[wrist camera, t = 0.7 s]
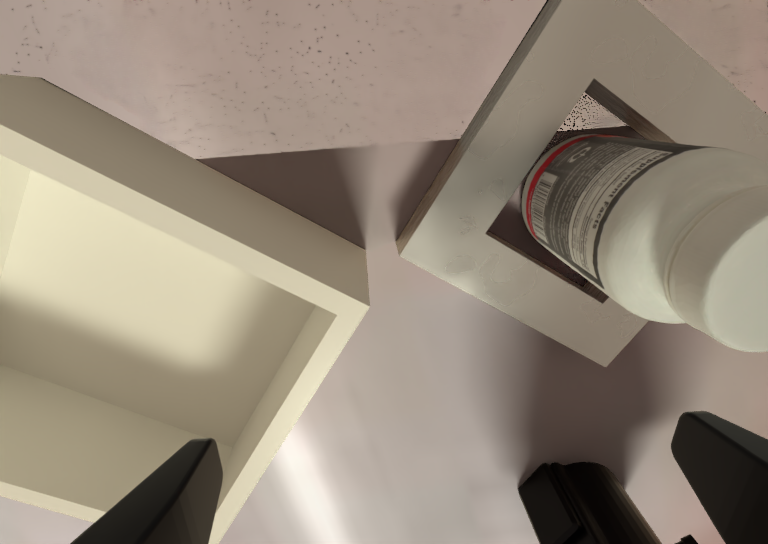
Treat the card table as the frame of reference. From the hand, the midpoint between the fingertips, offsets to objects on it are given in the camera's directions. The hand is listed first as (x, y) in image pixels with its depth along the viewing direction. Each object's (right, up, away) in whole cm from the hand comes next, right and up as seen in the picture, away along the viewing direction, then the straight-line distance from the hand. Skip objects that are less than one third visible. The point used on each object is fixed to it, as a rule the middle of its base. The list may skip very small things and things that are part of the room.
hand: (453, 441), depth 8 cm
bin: (-12, +2, +11) cm, 16 cm away
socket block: (+7, +7, +10) cm, 14 cm away
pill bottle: (+7, +7, +11) cm, 15 cm away
